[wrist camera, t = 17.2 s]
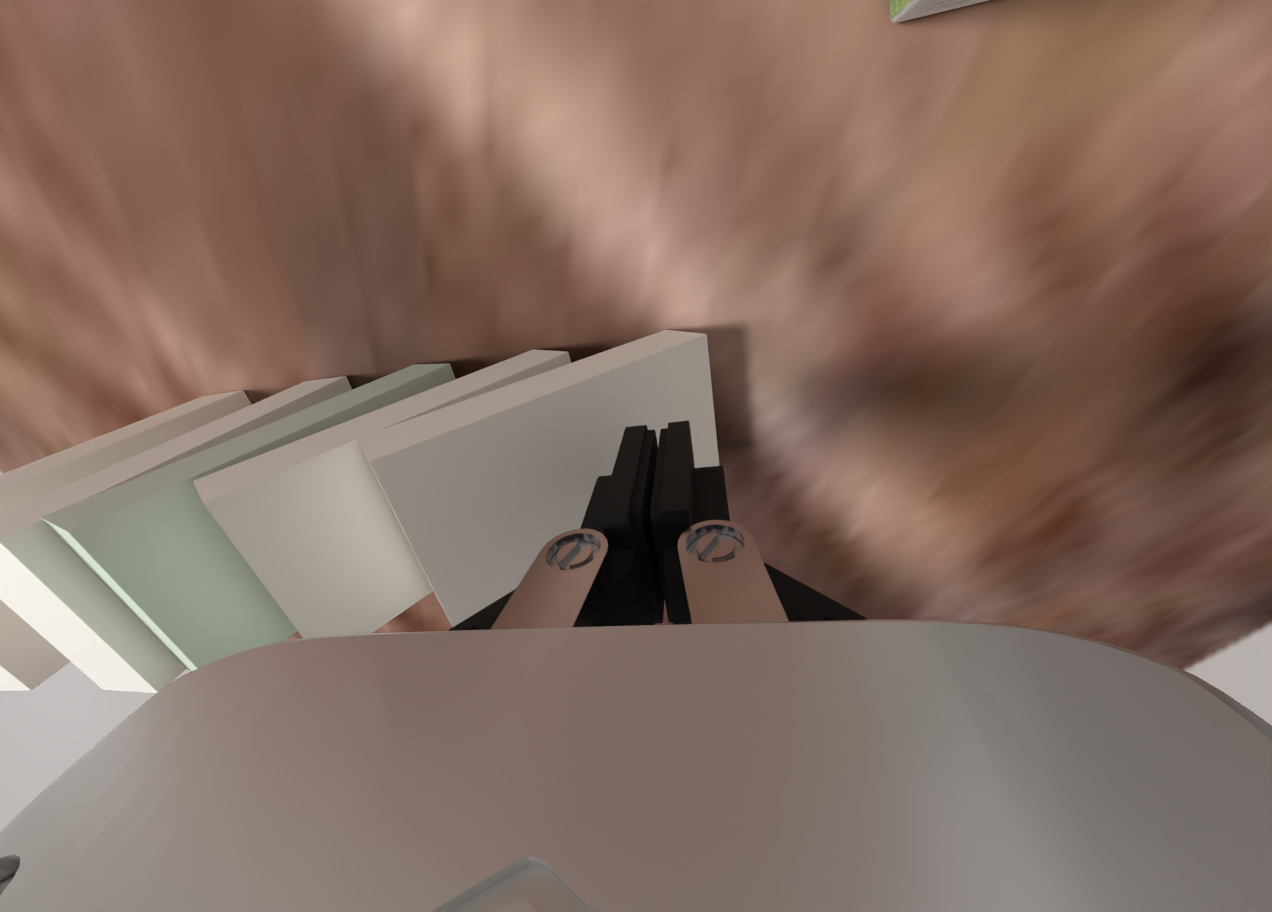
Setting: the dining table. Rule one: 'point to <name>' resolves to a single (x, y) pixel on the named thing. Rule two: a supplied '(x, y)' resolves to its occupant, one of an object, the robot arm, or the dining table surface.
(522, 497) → the domino
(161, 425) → the domino
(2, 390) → the dining table surface
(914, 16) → the syrup box
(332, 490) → the domino
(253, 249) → the dining table surface
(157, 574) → the domino
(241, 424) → the domino
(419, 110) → the dining table surface
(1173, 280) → the dining table surface
